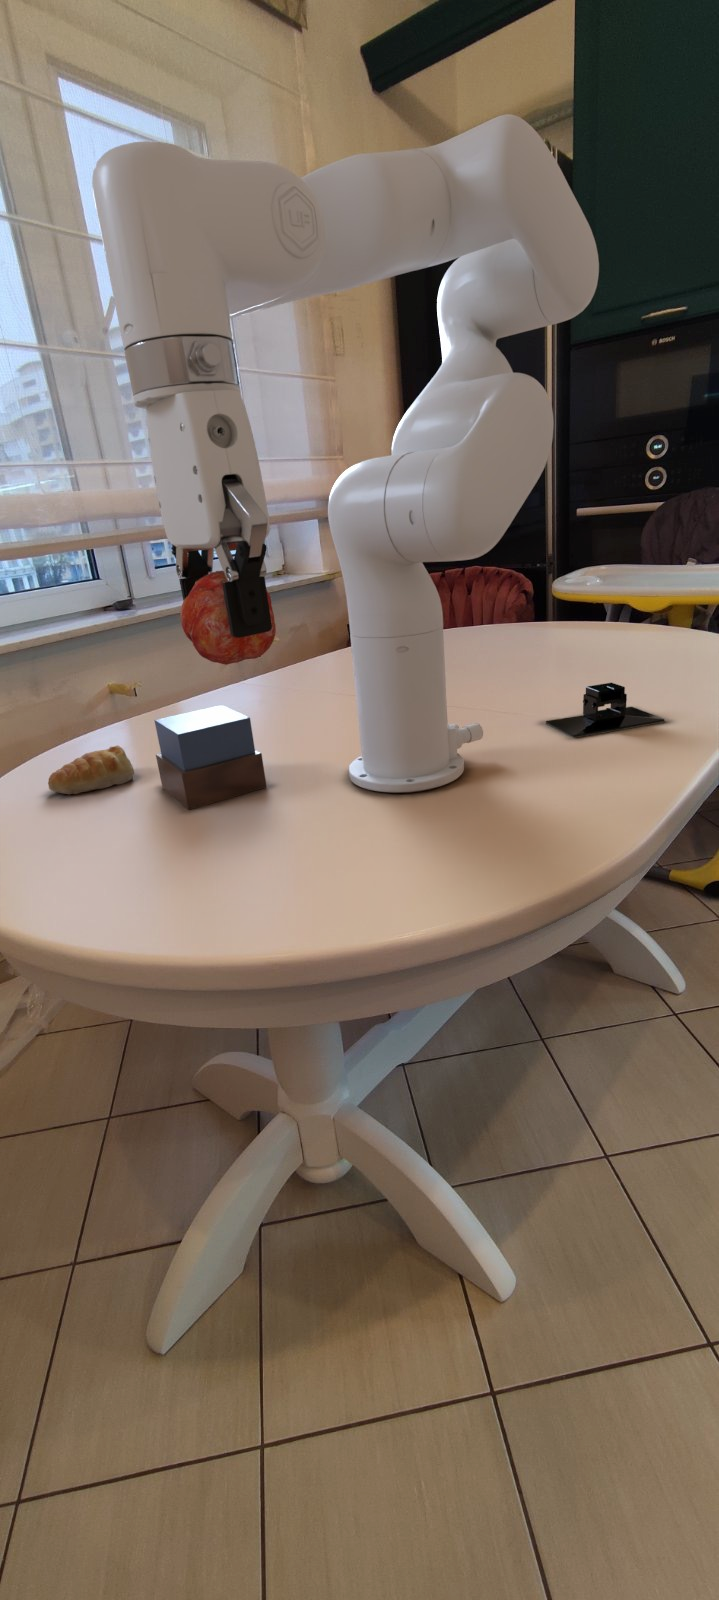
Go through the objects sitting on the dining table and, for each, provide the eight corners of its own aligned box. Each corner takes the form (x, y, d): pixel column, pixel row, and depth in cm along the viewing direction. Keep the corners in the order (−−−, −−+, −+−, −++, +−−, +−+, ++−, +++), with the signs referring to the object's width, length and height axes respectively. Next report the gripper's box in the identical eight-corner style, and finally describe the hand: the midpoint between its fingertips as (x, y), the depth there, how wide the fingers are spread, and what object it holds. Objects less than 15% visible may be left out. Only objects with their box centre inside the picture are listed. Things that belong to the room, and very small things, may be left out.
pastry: (60, 803, 81) (52, 770, 79) (43, 789, 86) (34, 759, 84) (140, 779, 86) (133, 748, 85) (119, 768, 91) (112, 739, 90)
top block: (227, 737, 85) (222, 704, 83) (255, 753, 78) (250, 717, 77) (161, 754, 81) (154, 719, 79) (184, 771, 75) (177, 734, 73)
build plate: (573, 739, 86) (574, 700, 84) (543, 724, 92) (543, 688, 91) (665, 721, 88) (667, 684, 86) (630, 708, 95) (631, 673, 93)
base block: (235, 768, 87) (229, 736, 85) (266, 787, 80) (261, 753, 78) (162, 787, 83) (155, 754, 81) (188, 809, 75) (181, 774, 74)
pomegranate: (189, 690, 61) (175, 632, 52) (185, 612, 63) (170, 543, 54) (277, 685, 62) (279, 628, 53) (270, 609, 64) (271, 541, 55)
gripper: (290, 351, 46) (324, 630, 53) (189, 397, 60) (226, 614, 66) (178, 351, 42) (230, 650, 49) (98, 400, 56) (147, 629, 63)
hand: (228, 628), depth 58 cm, fingers closed on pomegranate, 8 cm apart
